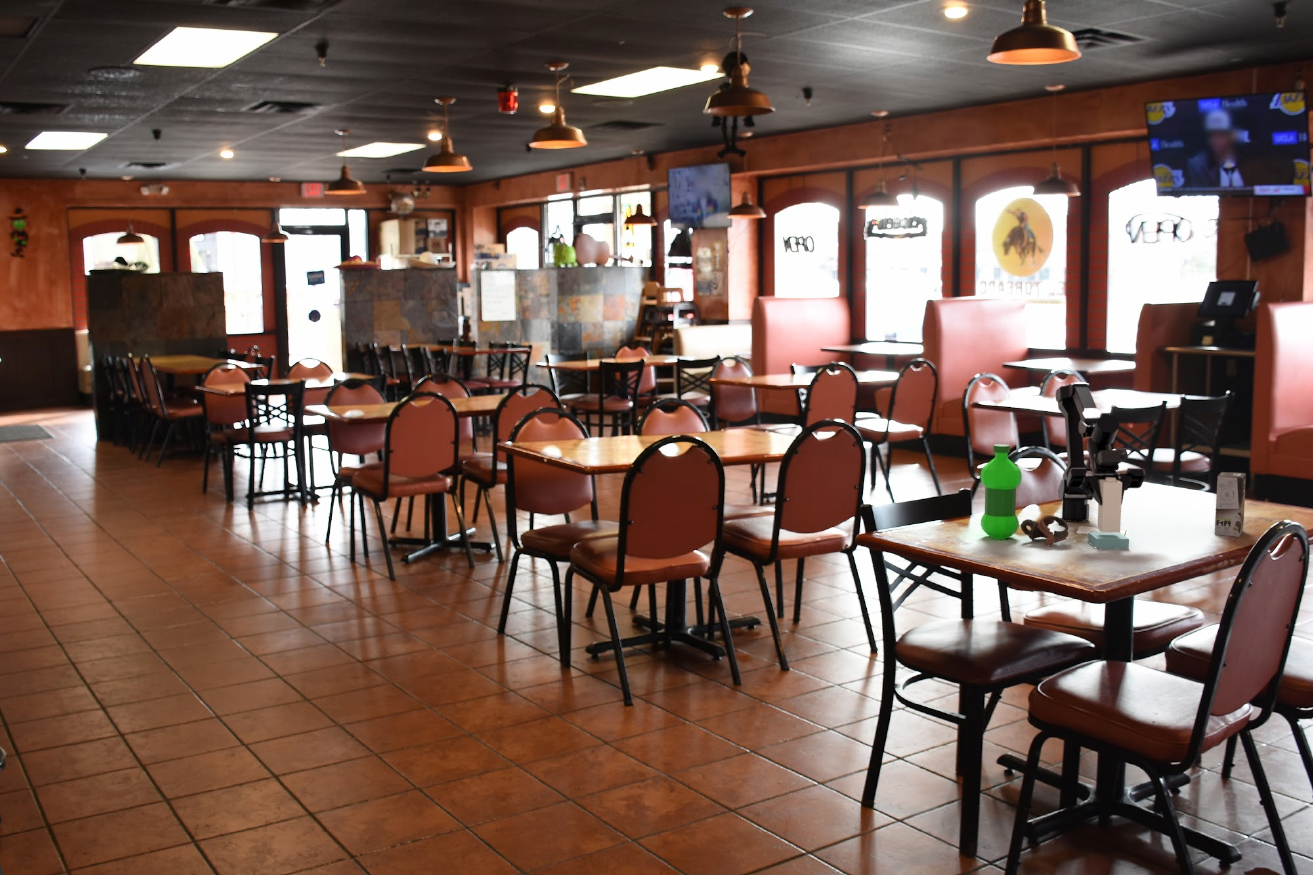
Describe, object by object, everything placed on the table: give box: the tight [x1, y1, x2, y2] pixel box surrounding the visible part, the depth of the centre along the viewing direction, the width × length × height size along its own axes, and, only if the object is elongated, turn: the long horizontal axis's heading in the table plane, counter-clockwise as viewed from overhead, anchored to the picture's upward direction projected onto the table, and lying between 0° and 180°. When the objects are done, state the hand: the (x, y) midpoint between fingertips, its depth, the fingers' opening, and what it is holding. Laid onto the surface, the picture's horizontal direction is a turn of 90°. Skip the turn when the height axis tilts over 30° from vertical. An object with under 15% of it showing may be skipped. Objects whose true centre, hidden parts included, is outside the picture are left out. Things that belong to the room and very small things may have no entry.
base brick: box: [1087, 532, 1130, 550], centre depth 308 cm, size 8×8×3 cm
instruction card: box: [1076, 525, 1127, 536], centre depth 324 cm, size 12×9×1 cm
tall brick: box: [1096, 477, 1122, 533], centre depth 307 cm, size 4×4×14 cm
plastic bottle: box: [980, 443, 1023, 540], centre depth 318 cm, size 10×10×25 cm
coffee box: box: [1214, 471, 1247, 538], centre depth 320 cm, size 9×6×16 cm
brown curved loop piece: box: [1020, 514, 1070, 547], centre depth 312 cm, size 12×10×8 cm
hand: (1111, 504), depth 305 cm, fingers closed on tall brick, 4 cm apart
